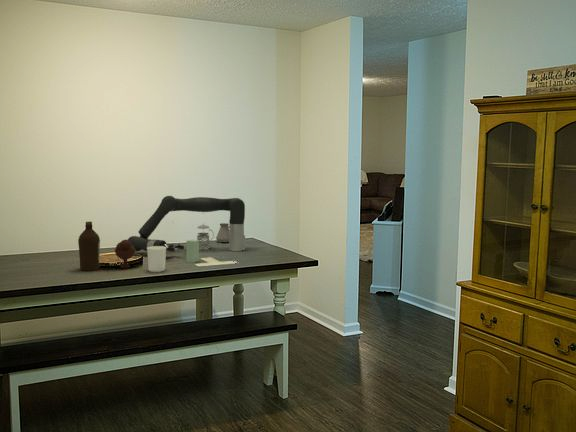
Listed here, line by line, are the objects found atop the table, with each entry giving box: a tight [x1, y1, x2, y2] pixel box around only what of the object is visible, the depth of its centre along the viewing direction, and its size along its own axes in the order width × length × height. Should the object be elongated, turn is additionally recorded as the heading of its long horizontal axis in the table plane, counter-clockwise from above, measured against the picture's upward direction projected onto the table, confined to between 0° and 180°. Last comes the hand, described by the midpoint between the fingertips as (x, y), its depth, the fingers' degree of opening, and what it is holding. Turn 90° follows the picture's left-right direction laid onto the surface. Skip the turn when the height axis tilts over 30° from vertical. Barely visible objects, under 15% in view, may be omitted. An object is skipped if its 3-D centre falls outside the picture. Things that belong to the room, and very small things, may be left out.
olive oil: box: [77, 221, 101, 272], centre depth 294 cm, size 11×11×25 cm
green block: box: [186, 239, 200, 264], centre depth 321 cm, size 5×5×12 cm
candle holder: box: [146, 246, 167, 273], centre depth 295 cm, size 10×10×12 cm
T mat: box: [194, 257, 238, 267], centre depth 322 cm, size 22×24×1 cm
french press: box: [196, 224, 214, 250], centre depth 364 cm, size 10×12×25 cm
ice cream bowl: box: [114, 239, 136, 269], centre depth 302 cm, size 11×11×15 cm
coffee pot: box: [215, 222, 229, 243], centre depth 386 cm, size 21×12×15 cm, turn 31°
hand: (179, 248), depth 325 cm, fingers open, 8 cm apart
